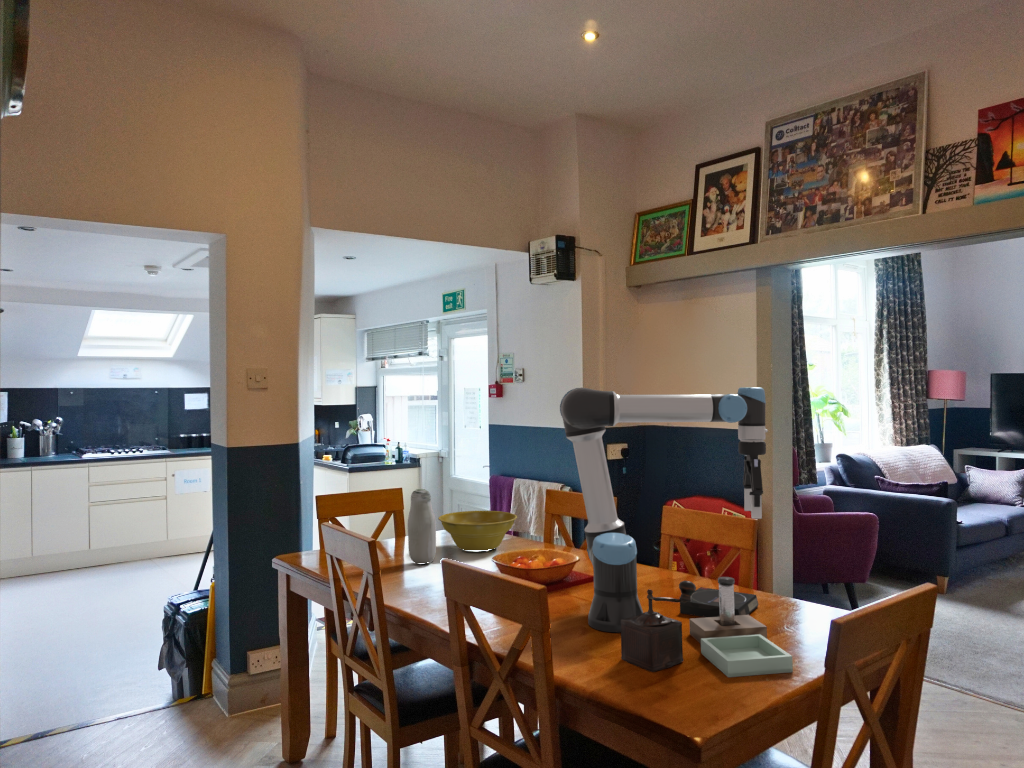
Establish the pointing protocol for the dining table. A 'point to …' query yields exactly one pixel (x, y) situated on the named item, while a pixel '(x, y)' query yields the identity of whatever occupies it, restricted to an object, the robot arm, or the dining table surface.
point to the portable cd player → (717, 603)
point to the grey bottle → (421, 528)
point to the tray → (746, 655)
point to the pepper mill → (654, 635)
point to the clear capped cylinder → (726, 601)
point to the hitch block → (725, 627)
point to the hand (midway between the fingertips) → (752, 514)
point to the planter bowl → (477, 528)
